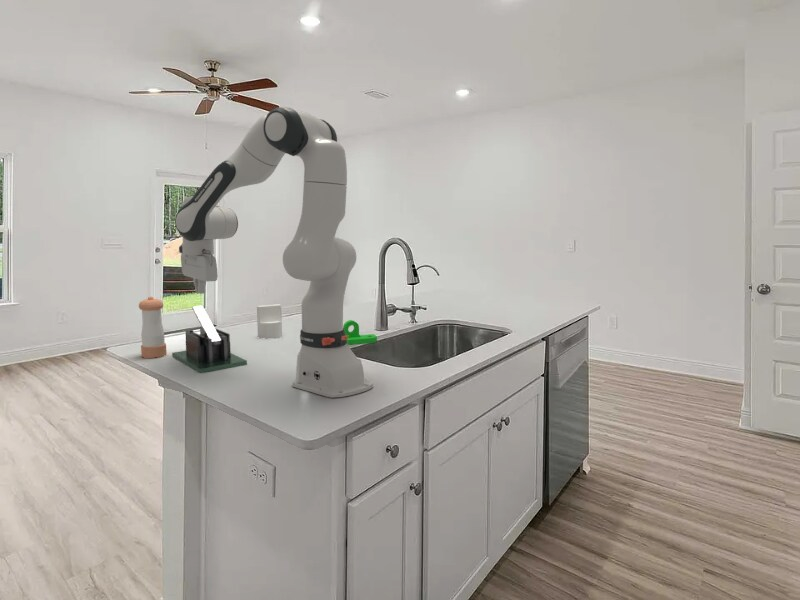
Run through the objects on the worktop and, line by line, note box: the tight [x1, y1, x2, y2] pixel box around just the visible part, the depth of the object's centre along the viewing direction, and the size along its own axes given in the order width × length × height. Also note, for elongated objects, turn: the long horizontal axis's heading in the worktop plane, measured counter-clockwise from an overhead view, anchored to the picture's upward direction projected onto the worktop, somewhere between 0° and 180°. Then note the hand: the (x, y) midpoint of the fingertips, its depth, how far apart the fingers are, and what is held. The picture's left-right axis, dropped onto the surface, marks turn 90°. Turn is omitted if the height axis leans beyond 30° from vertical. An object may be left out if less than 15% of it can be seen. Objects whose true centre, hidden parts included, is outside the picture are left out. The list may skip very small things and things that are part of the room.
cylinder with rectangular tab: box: [256, 303, 283, 339], centre depth 187 cm, size 9×9×12 cm
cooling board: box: [171, 326, 248, 374], centre depth 153 cm, size 24×14×9 cm, turn 43°
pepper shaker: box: [138, 296, 168, 359], centre depth 157 cm, size 7×7×19 cm
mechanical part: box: [343, 319, 378, 346], centre depth 180 cm, size 12×6×8 cm, turn 114°
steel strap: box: [192, 305, 223, 346], centre depth 152 cm, size 18×3×1 cm
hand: (200, 293), depth 153 cm, fingers closed
